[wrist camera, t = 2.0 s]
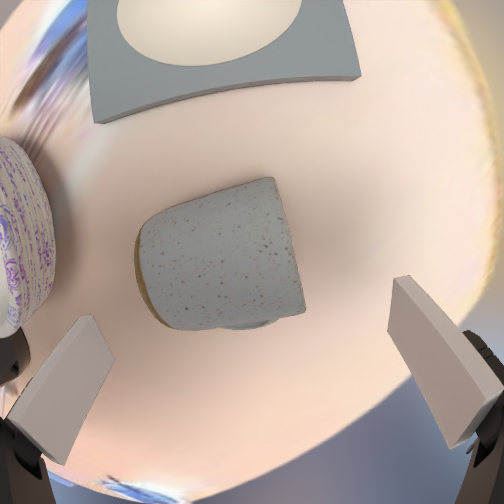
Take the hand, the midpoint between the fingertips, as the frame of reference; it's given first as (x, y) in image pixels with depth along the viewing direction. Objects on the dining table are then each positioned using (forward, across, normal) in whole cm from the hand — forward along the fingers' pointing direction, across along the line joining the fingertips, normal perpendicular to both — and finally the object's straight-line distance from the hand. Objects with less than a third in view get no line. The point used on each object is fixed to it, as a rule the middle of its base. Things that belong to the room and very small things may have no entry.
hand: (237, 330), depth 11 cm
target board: (+9, 0, +18) cm, 20 cm away
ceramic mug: (+9, -1, 0) cm, 9 cm away
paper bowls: (+9, -20, +6) cm, 22 cm away
